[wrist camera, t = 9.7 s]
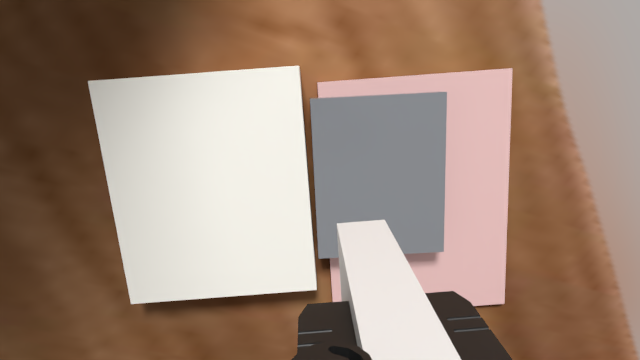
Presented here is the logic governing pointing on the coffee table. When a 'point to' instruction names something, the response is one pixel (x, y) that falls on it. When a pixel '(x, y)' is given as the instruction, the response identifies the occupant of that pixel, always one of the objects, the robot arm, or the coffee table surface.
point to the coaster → (381, 166)
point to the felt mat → (460, 180)
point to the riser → (208, 182)
